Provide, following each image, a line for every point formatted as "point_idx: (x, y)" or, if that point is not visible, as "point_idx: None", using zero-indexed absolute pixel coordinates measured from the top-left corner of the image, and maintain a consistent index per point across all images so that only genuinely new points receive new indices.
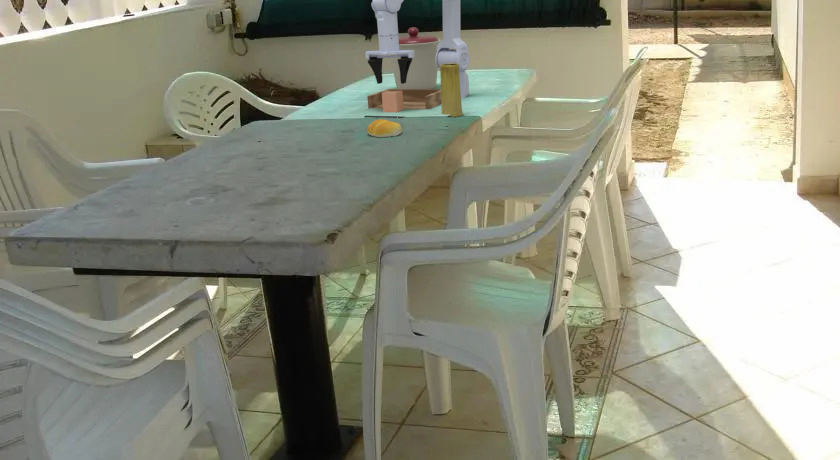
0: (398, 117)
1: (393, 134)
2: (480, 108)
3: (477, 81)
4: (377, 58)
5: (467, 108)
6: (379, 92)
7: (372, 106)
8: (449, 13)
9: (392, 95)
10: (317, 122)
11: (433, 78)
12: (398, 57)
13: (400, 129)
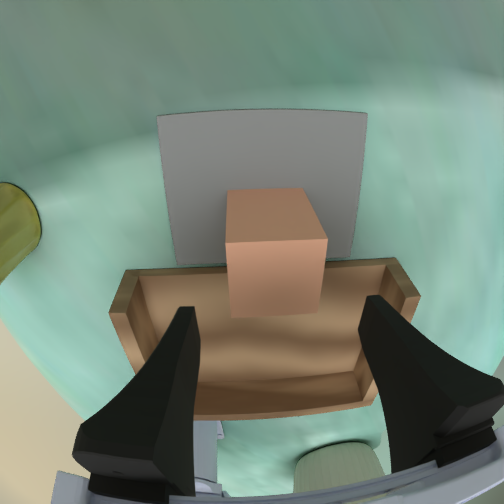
0: (175, 114)
1: None
2: (30, 330)
3: (252, 490)
4: (431, 457)
5: (58, 330)
6: None
7: (386, 274)
8: None
9: (250, 234)
10: (494, 21)
11: (295, 479)
12: (204, 498)
13: None
